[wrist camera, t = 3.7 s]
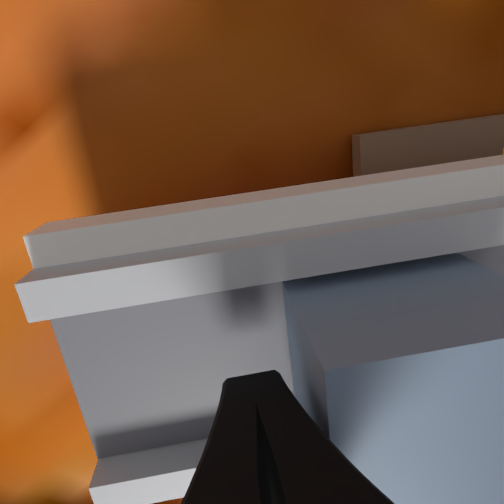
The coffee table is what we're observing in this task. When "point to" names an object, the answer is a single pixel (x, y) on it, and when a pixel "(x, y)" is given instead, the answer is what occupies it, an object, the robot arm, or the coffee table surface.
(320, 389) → the rider
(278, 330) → the balance beam
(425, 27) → the coffee table surface
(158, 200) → the coffee table surface
